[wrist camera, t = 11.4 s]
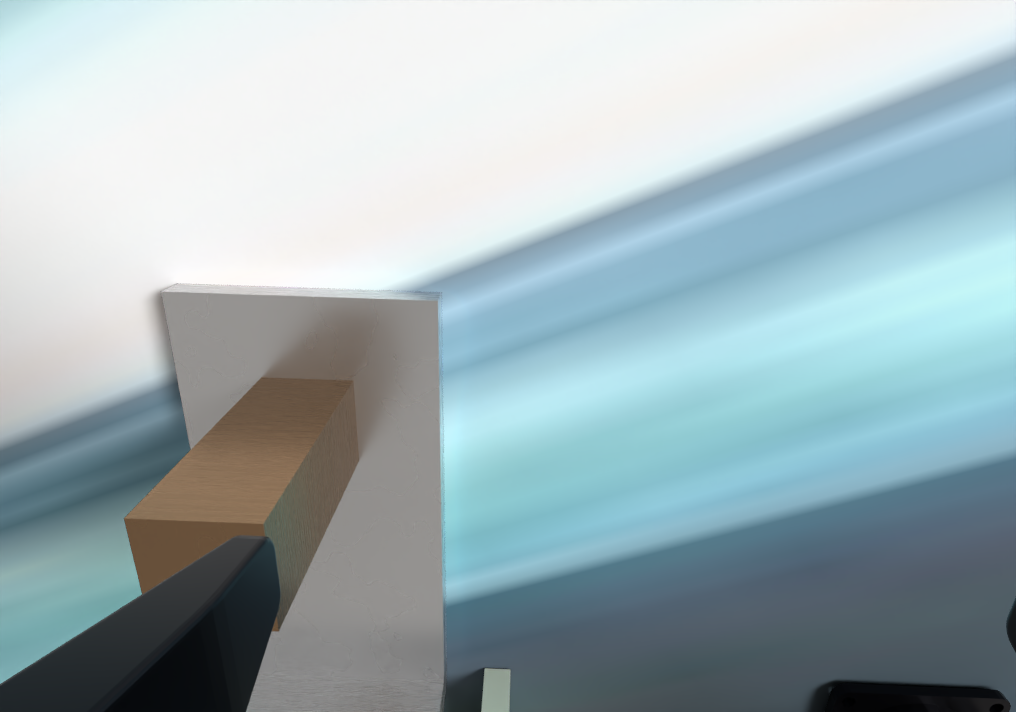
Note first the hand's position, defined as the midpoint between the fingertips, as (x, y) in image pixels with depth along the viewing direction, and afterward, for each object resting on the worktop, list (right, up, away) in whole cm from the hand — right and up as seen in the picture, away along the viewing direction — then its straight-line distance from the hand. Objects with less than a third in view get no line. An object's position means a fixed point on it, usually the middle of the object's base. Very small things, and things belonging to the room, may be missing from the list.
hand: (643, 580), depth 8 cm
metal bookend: (-8, -3, +14) cm, 17 cm away
